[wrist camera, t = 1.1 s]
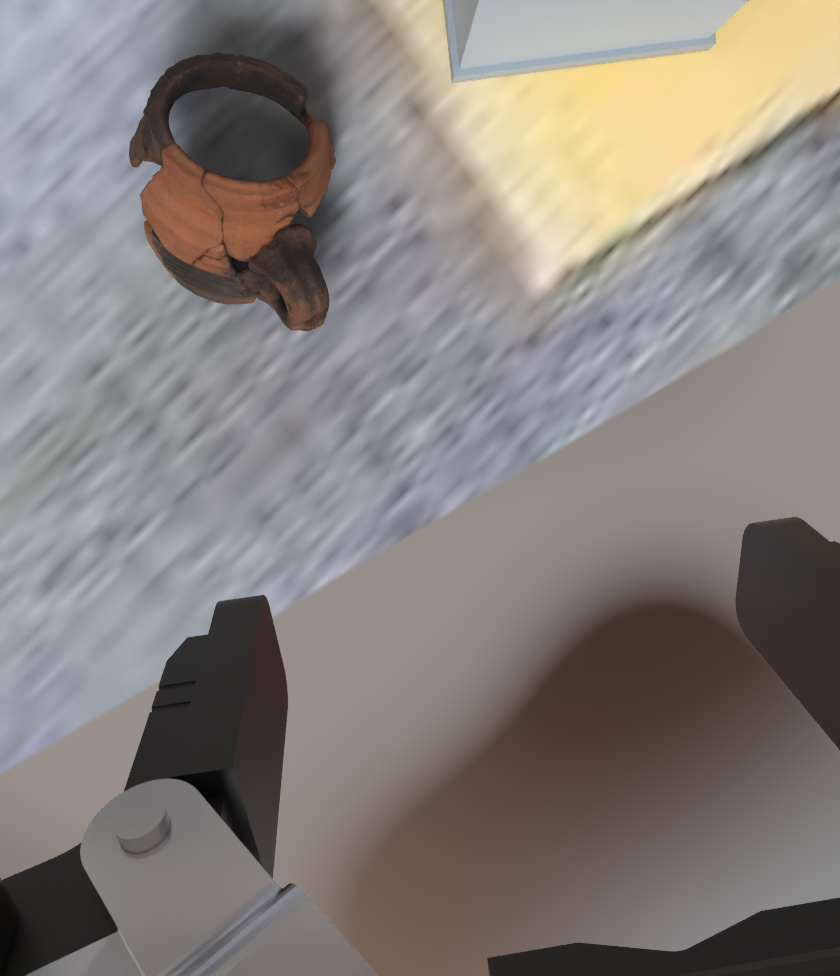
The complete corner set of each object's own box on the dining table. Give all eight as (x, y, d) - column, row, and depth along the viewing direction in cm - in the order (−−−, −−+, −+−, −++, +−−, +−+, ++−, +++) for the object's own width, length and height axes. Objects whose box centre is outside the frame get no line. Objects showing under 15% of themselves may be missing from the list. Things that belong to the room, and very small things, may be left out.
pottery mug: (103, 210, 35) (72, 75, 28) (262, 143, 39) (274, 6, 31) (245, 401, 34) (254, 316, 27) (394, 314, 38) (439, 217, 30)
